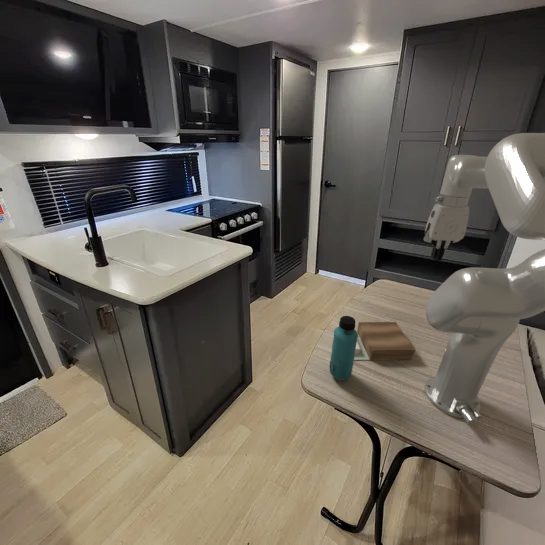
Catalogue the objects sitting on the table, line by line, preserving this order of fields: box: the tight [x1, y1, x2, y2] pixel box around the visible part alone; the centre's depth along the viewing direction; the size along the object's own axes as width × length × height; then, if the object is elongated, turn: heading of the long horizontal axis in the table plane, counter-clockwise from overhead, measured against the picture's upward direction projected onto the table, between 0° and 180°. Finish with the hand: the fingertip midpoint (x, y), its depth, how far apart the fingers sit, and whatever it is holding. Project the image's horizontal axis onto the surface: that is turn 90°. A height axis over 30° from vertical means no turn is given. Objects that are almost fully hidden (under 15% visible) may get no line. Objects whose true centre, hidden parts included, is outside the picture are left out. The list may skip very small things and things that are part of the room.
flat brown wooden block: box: [356, 321, 416, 361], centre depth 94 cm, size 14×13×4 cm
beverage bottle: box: [328, 315, 359, 381], centre depth 78 cm, size 6×7×20 cm
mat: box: [354, 335, 371, 361], centre depth 93 cm, size 11×7×1 cm, turn 1°
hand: (435, 258), depth 91 cm, fingers closed
